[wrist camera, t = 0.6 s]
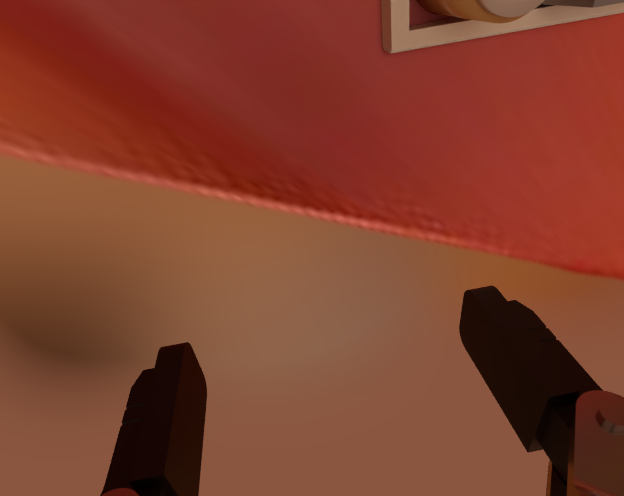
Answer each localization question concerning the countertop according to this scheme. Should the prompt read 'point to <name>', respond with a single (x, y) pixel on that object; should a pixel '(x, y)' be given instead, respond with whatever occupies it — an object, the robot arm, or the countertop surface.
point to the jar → (482, 9)
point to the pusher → (582, 3)
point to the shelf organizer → (472, 24)
